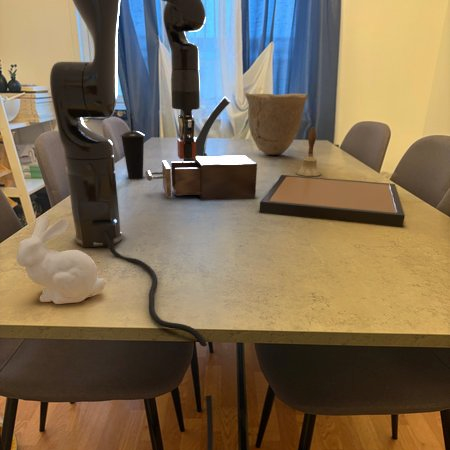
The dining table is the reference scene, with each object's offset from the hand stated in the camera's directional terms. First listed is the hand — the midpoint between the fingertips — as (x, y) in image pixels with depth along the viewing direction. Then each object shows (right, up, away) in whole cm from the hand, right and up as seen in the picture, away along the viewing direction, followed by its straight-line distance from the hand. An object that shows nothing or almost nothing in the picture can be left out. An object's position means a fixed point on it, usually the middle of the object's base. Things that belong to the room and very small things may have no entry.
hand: (186, 156), depth 122 cm
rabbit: (-15, -40, -52) cm, 68 cm away
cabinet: (+11, -9, +7) cm, 16 cm away
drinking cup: (-19, 0, +24) cm, 31 cm away
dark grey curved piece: (+4, +12, +47) cm, 48 cm away
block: (0, 0, 0) cm, 0 cm away
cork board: (+42, -13, +2) cm, 44 cm away
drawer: (-2, -9, +4) cm, 10 cm away
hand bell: (+41, +5, +36) cm, 55 cm away
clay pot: (+32, +24, +71) cm, 82 cm away
